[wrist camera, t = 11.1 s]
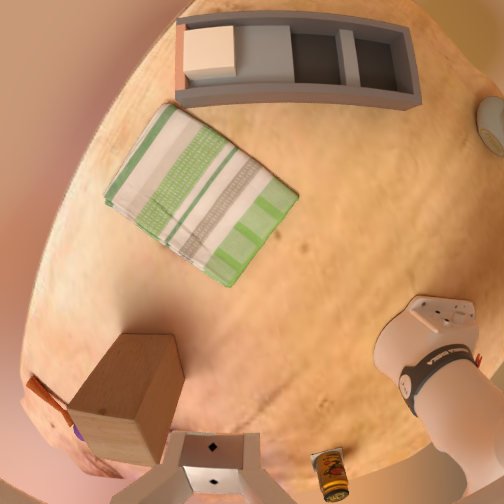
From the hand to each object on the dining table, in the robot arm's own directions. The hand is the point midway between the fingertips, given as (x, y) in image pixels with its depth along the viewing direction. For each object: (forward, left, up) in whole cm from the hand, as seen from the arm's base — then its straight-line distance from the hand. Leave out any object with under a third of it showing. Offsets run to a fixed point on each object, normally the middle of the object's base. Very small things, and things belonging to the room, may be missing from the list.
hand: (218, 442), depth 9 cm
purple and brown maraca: (+44, +36, -35) cm, 67 cm away
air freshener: (-44, -19, -34) cm, 59 cm away
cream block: (+3, -25, -31) cm, 40 cm away
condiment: (-16, +52, -34) cm, 64 cm away
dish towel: (+6, -6, -35) cm, 36 cm away
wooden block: (+17, +20, -34) cm, 43 cm away
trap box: (-9, -25, -34) cm, 43 cm away
